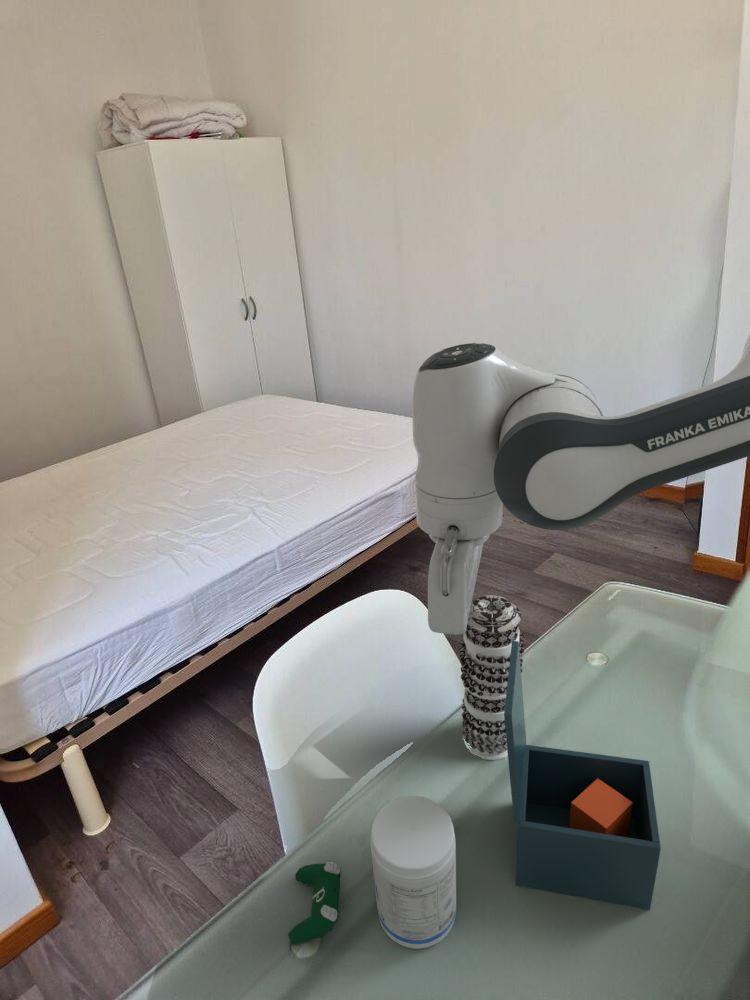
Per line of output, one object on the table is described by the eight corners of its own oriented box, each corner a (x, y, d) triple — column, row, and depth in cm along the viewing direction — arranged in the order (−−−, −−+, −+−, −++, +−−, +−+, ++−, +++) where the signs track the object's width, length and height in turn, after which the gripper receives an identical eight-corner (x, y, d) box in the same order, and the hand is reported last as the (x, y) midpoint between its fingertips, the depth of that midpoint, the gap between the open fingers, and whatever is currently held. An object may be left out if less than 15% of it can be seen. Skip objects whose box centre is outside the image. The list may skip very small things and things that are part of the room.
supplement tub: (377, 875, 87) (369, 794, 80) (452, 873, 87) (450, 790, 80) (377, 955, 78) (368, 870, 72) (461, 952, 78) (459, 867, 71)
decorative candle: (532, 737, 106) (539, 602, 95) (496, 772, 100) (498, 634, 89) (485, 708, 112) (486, 579, 101) (448, 740, 106) (445, 607, 95)
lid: (518, 641, 83) (511, 640, 84) (511, 714, 73) (503, 714, 73) (526, 741, 90) (520, 741, 91) (521, 823, 79) (514, 822, 80)
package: (626, 846, 87) (632, 802, 84) (600, 873, 84) (606, 828, 81) (592, 821, 91) (597, 777, 87) (567, 845, 88) (571, 802, 84)
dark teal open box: (640, 819, 92) (648, 760, 87) (650, 910, 81) (660, 848, 76) (520, 801, 95) (523, 744, 91) (515, 885, 85) (517, 825, 80)
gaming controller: (309, 957, 80) (343, 933, 78) (284, 943, 79) (317, 919, 77) (316, 882, 88) (346, 860, 86) (293, 869, 87) (323, 846, 85)
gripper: (479, 560, 60) (478, 682, 66) (498, 466, 78) (496, 570, 84) (408, 555, 62) (414, 675, 68) (443, 464, 80) (445, 566, 86)
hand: (460, 616), depth 76 cm, fingers open, 3 cm apart
